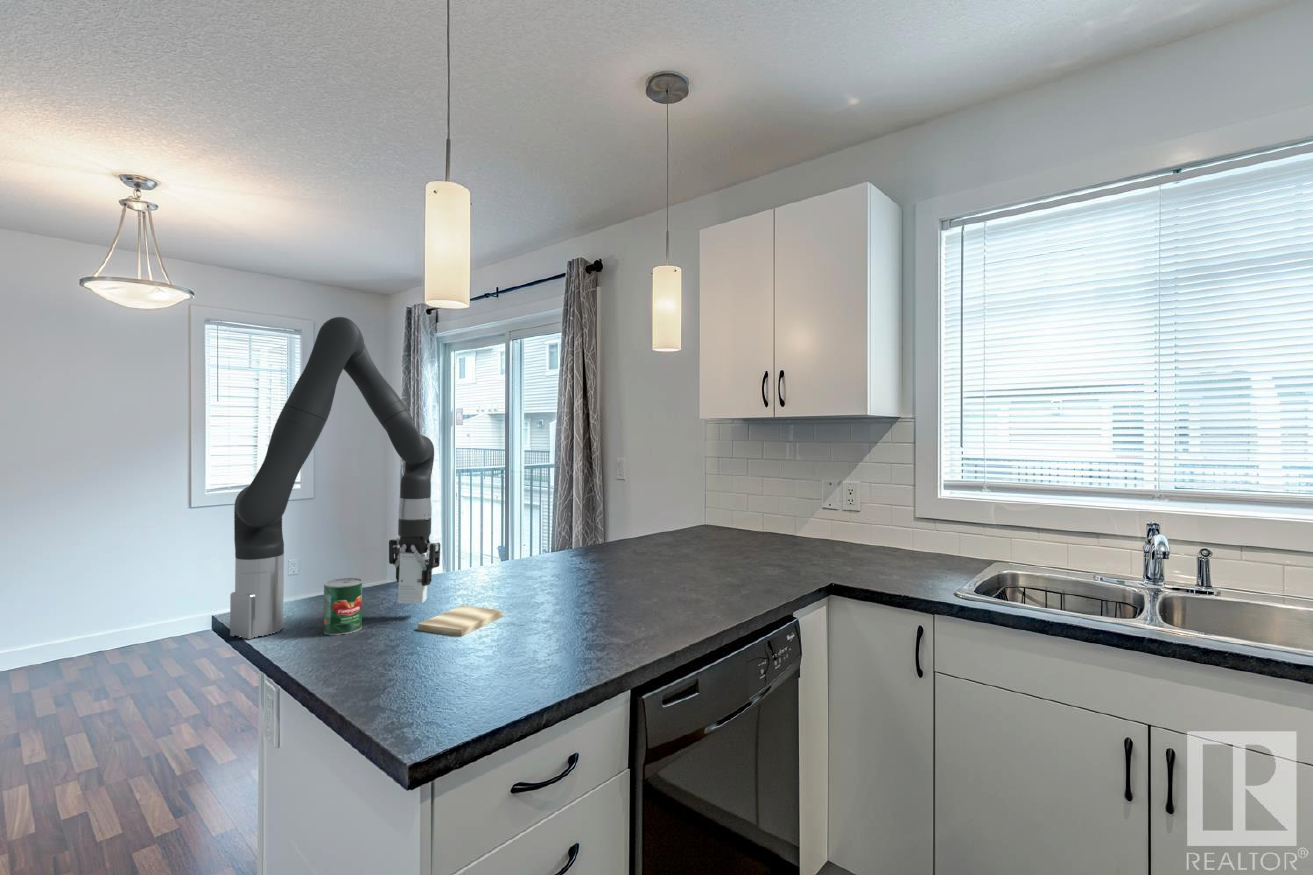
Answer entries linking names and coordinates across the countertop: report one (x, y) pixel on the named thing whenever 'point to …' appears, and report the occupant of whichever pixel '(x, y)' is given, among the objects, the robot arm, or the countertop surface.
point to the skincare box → (411, 579)
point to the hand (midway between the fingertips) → (413, 583)
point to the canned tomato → (342, 606)
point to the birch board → (460, 620)
